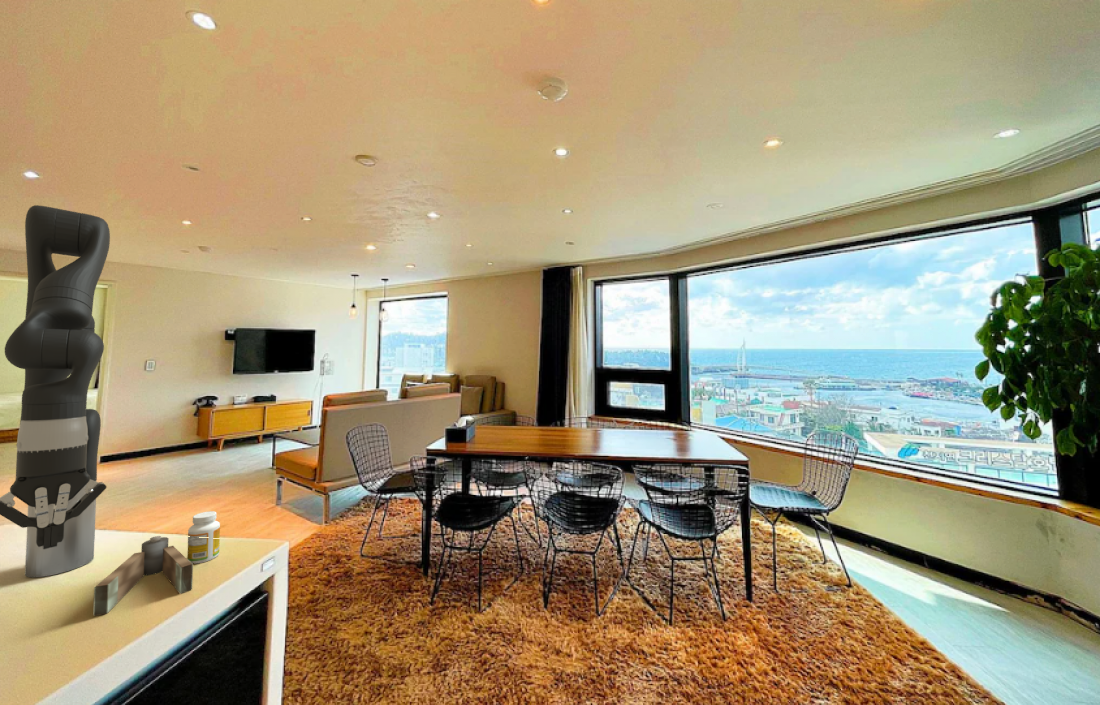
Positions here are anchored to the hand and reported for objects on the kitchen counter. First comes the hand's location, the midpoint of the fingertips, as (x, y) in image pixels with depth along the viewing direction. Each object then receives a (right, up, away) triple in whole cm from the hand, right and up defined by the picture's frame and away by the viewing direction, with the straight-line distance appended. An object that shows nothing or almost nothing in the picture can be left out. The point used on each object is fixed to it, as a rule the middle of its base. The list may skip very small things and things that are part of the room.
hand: (49, 546), depth 67 cm
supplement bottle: (+8, -13, +21) cm, 26 cm away
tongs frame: (+8, -13, +12) cm, 19 cm away
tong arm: (+5, -12, +7) cm, 15 cm away
